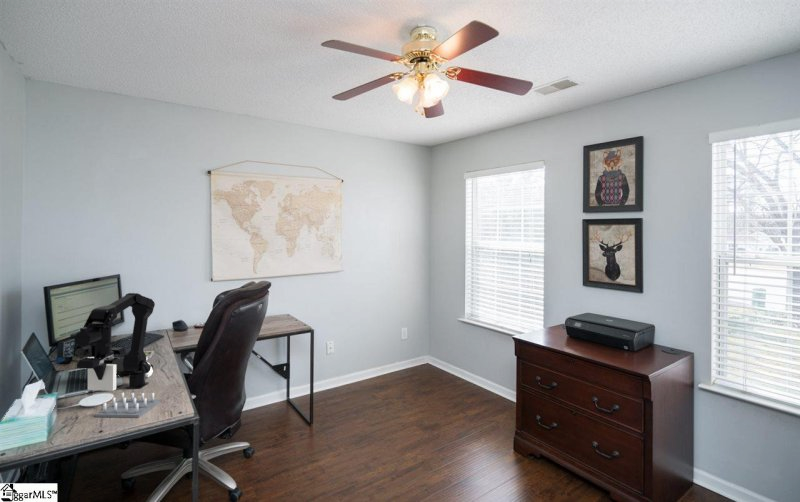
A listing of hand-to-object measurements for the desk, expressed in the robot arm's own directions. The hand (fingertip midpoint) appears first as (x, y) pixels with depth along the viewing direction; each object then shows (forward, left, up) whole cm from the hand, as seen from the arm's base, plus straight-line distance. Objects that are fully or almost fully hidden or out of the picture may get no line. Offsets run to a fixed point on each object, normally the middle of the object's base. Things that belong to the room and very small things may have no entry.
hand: (102, 378), depth 157 cm
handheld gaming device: (-66, -25, -12) cm, 72 cm away
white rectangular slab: (0, 0, -4) cm, 4 cm away
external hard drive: (-44, -19, -12) cm, 50 cm away
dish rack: (+3, +12, -11) cm, 17 cm away
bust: (-34, -5, -11) cm, 37 cm away
